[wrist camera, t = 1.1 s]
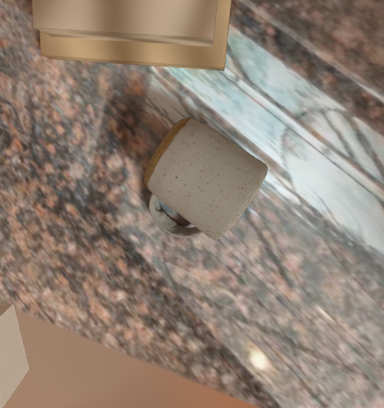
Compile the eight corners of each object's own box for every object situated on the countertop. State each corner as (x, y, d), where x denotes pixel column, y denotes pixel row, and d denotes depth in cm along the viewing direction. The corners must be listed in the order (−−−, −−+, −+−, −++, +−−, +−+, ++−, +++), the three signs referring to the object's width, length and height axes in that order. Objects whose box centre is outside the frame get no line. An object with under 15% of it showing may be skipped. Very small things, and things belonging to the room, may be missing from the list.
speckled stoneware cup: (190, 112, 28) (176, 108, 20) (264, 161, 28) (277, 174, 21) (135, 204, 31) (105, 230, 23) (202, 248, 31) (194, 287, 24)
